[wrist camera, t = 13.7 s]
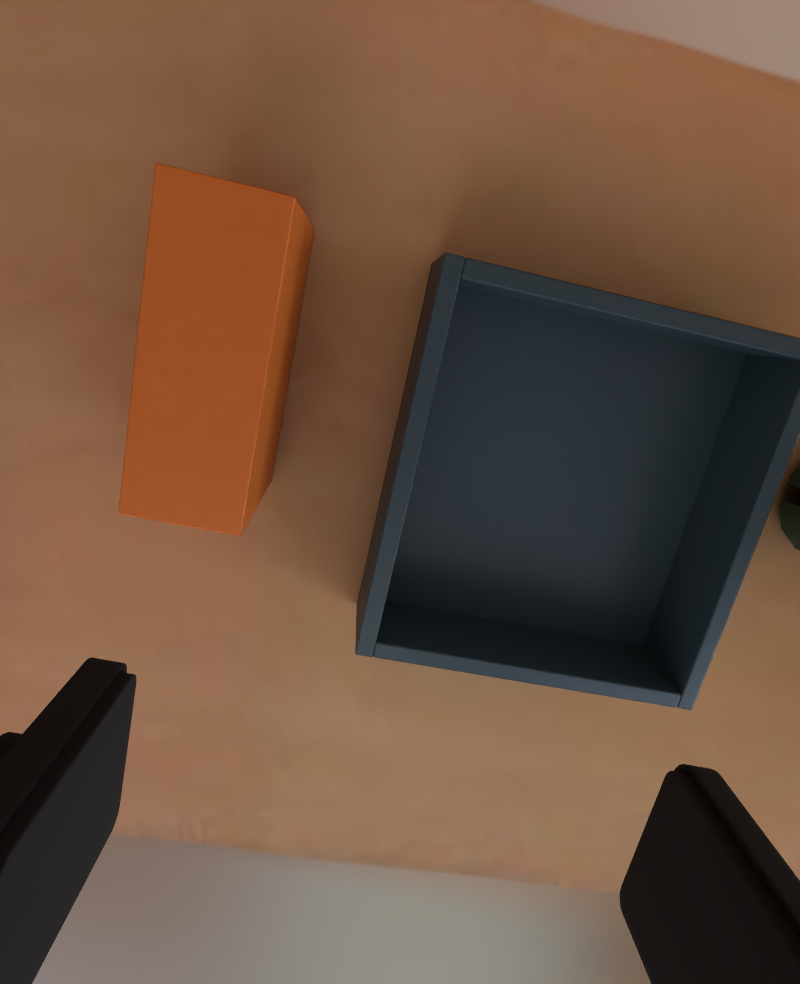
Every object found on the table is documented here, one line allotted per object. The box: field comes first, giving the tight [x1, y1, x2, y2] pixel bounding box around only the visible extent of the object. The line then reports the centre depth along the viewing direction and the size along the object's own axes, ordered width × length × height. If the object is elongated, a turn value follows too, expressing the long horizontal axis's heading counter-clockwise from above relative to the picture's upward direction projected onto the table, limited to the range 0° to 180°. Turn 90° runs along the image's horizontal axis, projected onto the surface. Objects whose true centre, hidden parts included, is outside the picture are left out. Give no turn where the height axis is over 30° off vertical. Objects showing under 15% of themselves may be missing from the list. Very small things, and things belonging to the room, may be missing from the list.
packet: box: [119, 163, 314, 536], centre depth 25 cm, size 4×12×8 cm, turn 167°
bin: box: [355, 253, 800, 710], centre depth 29 cm, size 17×18×5 cm
